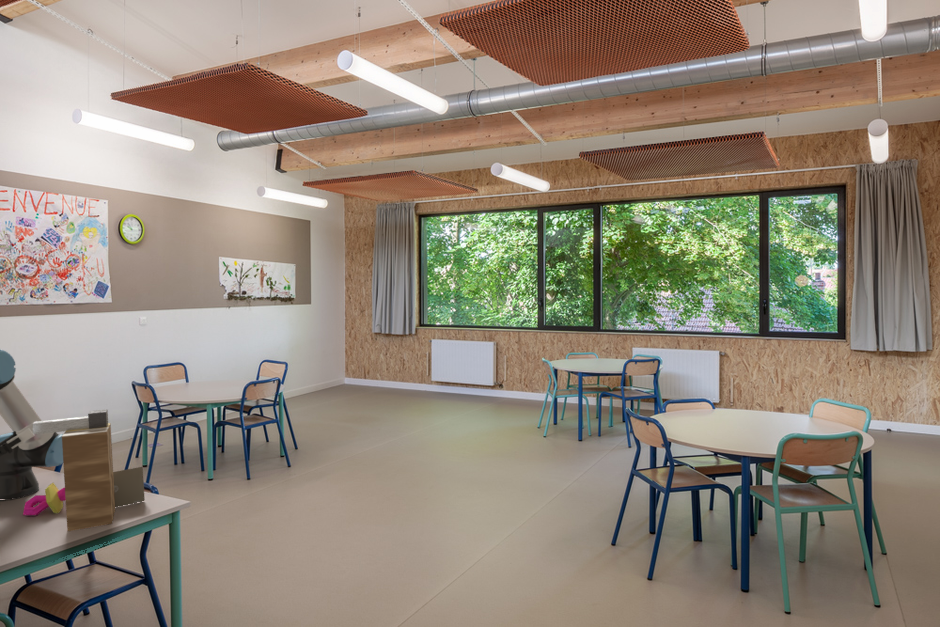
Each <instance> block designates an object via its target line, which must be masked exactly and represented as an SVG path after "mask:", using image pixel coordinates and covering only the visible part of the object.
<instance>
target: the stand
mask: <svg viewBox="0 0 940 627" xmlns="http://www.w3.org/2000/svg"><path fill="white" fill-rule="evenodd" d="M62 434H63V435H62V448H63V463H62V464H63V477H64V478H63V479H64V487H65V498H66V500H65V509H66V510H65V515H66V527H67V528H66V530H67V532H73V531H79V530H84V529H90V528H96V527H100V526H107V525H112V524H113V522H112V521H114V518H113V517H115V514H116V513H115V512H116V508H115V496H114V478H113V472H114V462H113V446H112V444H113V443H112V427H111V423H109V422H108V426H107V427H102V428H93V429H81V430H72V431H64V433H62ZM114 513H115V514H114Z"/></svg>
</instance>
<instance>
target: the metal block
mask: <svg viewBox="0 0 940 627" xmlns="http://www.w3.org/2000/svg"><path fill="white" fill-rule="evenodd" d="M108 410H109V409H96V410H89V412H88V413H87V416H77V417H67V418H58V419H49V420H48V419H47V420H42V421H37V422H34V423H33V434H34V435H36V434H45V433H54V432H57V433H61V432H65V431H72V430H81V429H93V428H102V427H107V426H108V423H109V414H108V413H109V411H108Z"/></svg>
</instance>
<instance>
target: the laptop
mask: <svg viewBox="0 0 940 627" xmlns="http://www.w3.org/2000/svg"><path fill="white" fill-rule="evenodd" d="M113 478H114V496H115V507H118V506H123V505H128V504H133V503H137V502H142V501H145V484H144V467H143V466H139V467H133V468H128V469H124V470H118V471H113ZM133 505H134V504H133Z"/></svg>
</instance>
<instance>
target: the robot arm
mask: <svg viewBox="0 0 940 627" xmlns="http://www.w3.org/2000/svg"><path fill="white" fill-rule="evenodd" d="M16 369H17V368H16V361H15V359H14V357H13V356H12V355H11V354H10V353H9V352H8V351H7V350H4V349H1V348H0V416H1V418H2V419H3V420H4V422H5V423H6V424H7V425H8V426H9V428H10V429H11V431H12V432H7V433H4V434H0V499H10V500H13V499H12V498H16V499H20V498H24V497H27V496H30V495H33V494H35V493H37V492H38V491H39V490H40V486H39V484H40V483H39V481H38V480H37V477H36V475H35V474H34V471H33V468H35V467H36V468H51V467H59V466H61V465H62V464H63V448H62V435H63V434H64V433H60V434H59V433H58V432H54V433H45V434H36V435H34V434H33V423H34V422H37V421H43V420H42V419H41V418H40V416H39V415H38V413H37V412H36V411H35V409H34V408H33V407H32V405H31V404H30V403H29V401H28V400H27V399H26V397H25V396H24V394H23V393H22V392H21V391H20V389H19V388H18V386H17V385H16V384H15V382H14V380H15V377H16V376H15V374H16ZM23 496H24V497H23ZM19 497H20V498H19Z"/></svg>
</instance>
